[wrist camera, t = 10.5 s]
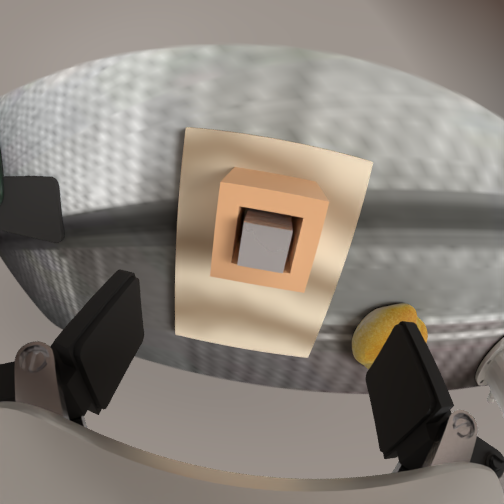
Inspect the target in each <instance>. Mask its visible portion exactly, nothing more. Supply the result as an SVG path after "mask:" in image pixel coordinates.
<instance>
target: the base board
mask: <svg viewBox="0 0 504 504" xmlns="http://www.w3.org/2000/svg"><path fill="white" fill-rule="evenodd" d="M372 165H373V162H371V161H368V160H365V159H361V158H358V157H354V156H351V155H347V154H343V153H339V152H335V151H331V150H327V149H323V148H318V147H314V146H310V145H305V144H300V143H295V142H290V141H285V140H280V139H275V138H269V137H263V136H257V135H250V134H244V133H237V132H229V131H221V130H213V129H203V128H193V127H186V131H185V139H184V148H183V157H182V167H181V178H180V190H179V203H178V218H177V237H176V266H175V334H176V335H180V336H184V337H189V338H193V339H198V340H202V341H207V342H212V343H217V344H222V345H227V346H233V347H238V348H244V349H250V350H256V351H262V352H268V353H275V354H282V355H290V356H297V357H306V358H308V356H309V354H310V352H311V349H312V347H313V344H314V342H315V340H316V337H317V335H318V332H319V330H320V328H321V325H322V323H323V320H324V317H325V315H326V312H327V310H328V307H329V304H330V302H331V299H332V296H333V294H334V291H335V288H336V286H337V283H338V280H339V277H340V274H341V271H342V268H343V265H344V263H345V260H346V256H347V253H348V250H349V247H350V244H351V241H352V238H353V235H354V231H355V228H356V225H357V221H358V218H359V214H360V211H361V207H362V204H363V200H364V197H365V193H366V189H367V185H368V181H369V177H370V173H371V169H372ZM234 167H239V168H245V169H252V170H258V171H264V172H269V173H275V174H280V175H286V176H291V177H296V178H301V179H306V180H311V181H315V182H317V184H318V185H319V187H320V188H321V190H322V191H323V193H324V194H325V196H326V197H327V199H328V200H329V205H328V209H327V213H326V217H325V221H324V225H323V229H322V232H321V236H320V240H319V244H318V247H317V251H316V254H315V258H314V261H313V265H312V268H311V272H310V275H309V279H308V282H307V285H306V289H305V292H304V293H302V292H296V291H290V290H284V289H278V288H272V287H266V286H260V285H254V284H249V283H243V282H238V281H232V280H227V279H221V278H216V277H211V276H210V271H211V261H212V251H213V241H214V231H215V222H216V214H217V205H218V197H219V189H220V182H221V181H222V180H223V179H224V178H225V176H226V175H227V174H228V173H229V172H230V171H231V170H232V169H233V168H234ZM247 211H248V208H247V207H245V212H244V219H243V224H244V220H245V217H246V214H247ZM291 219H292V216H291ZM242 230H243V225H242Z"/></svg>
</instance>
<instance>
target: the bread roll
mask: <svg viewBox="0 0 504 504" xmlns="http://www.w3.org/2000/svg"><path fill="white" fill-rule="evenodd" d="M401 321H406V322H414V323H416V325H417V327H418V329H419V330H420V332H421V334H422V336H423V338H424V340H425V342H427V337H428V335H427V329H426V326H425V324H424V323H423V322H422V321H421V320H420V319H419V318H418V317H417V313H416V310H415V309H414V308H413V307H412V306H411V305H409V304H406V303H400V304H395V305H390V306H386V307H381V308H377V309H375V310H373V311H372V312H370V313H369V314H368V315H367V316H366V317H365V318H364V319H363V320H362V321H361V322H360V323H359V325H358V326H357V328H356V330H355V332H354V334H353V338H352V351H353V355H354V357H355V359H356V360H357V361H358V362H360V363H361V364H362V365H364V366H365V367H366V368H368V369H369V368H370V367H371V365H372V364H373V362H374V360H375V359H376V357H377V356H378V354H379V352H380V351H381V349H382V347H383V345H384V344H385V342H386V340H387V338H388V337H389V335H390V333H391V331H392V329H393V328H394V326H395V325H397V324H399V323H400V322H401Z"/></svg>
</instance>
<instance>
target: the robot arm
mask: <svg viewBox="0 0 504 504" xmlns="http://www.w3.org/2000/svg"><path fill="white" fill-rule="evenodd" d="M143 338H144V329H143V320H142V310H141V299H140V285H139V279H138V278H136V277H135V274H134V273H132V272H128V271H124V270H118V271H116V273H115V274H114V275H113V276H112V277H111V278H110V279H109V280H108V281H107V282H106V283H105V284H104V285H103V286H102V287H101V288H100V289H99V290H98V291H97V293H96V294H95V295H94V296H93V297H92V298H91V299H90V300H89V301H88V302H87V303H86V305H85V306H84V307H83V308H82V309H81V310H80V311H79V312H78V314H77V315H76V316H75V317H74V318H73V319H72V320H71V322H70V323H69V324H68V325H67V326H66V327H65V329H64V330H63V331H62V332H61V333H60V335H59V336H58V337H57V338H56V339H55V341H54V342H53V344H52V345H51V346H49V345H47V344H46V343H43V342H39V341H38V342H30V343H27V344H26V345H24V346H22V347H21V348H20V349H19V351H18V352H17V354H16V357H15V361H14V362H10V363H5V364H0V504H504V457H503V456H502V454H501V453H500V452H499V451H498V450H497V449H495V448H494V447H492V446H491V445H489V444H488V443H486V442H485V441H483V440H482V439H480V438H479V437H477V433H478V427H477V423H476V420H475V418H474V417H473V416H472V415H471V414H470V413H469V412H467V411H465V410H460V409H459V410H455V411H454V412H453V413H451V411H450V409H451V408H452V407H453V406H454V404H453V402H452V399H451V397H450V394H449V392H448V390H447V387H446V385H445V383H444V380H443V378H442V376H441V374H440V371H439V369H438V367H437V365H436V363H435V361H434V358H433V356H432V354H431V352H430V350H429V348H428V346H427V344H426V342H425V340H424V338H423V336H422V334H421V332H420V330H419V329H418V327H417V325H416V323H414V322H406V321H401V322H400V323H399V324H397V325H395V326H394V328H393V329H392V331H391V333H390V335H389V337H388V338H387V340H386V342H385V344H384V345H383V347H382V349H381V351H380V352H379V354H378V356H377V357H376V359H375V360H374V362H373V364H372V365H371V367H370V368H369V370H368V372H367V374H366V383H367V388H368V392H369V396H370V401H371V405H372V411H373V415H374V420H375V426H376V431H377V436H378V442H379V448H380V451H381V452H383V454H384V459H389V458H396V457H398V458H399V462H398V464H397V465H396V467H395V469H394V470H393V472H392V473H390V474H383V475H375V476H366V477H356V478H340V479H339V478H338V479H292V478H276V477H264V476H254V475H247V474H240V473H233V472H227V471H221V470H216V469H211V468H206V467H201V466H197V465H192V464H188V463H184V462H180V461H176V460H172V459H169V458H166V457H162V456H159V455H156V454H152V453H149V452H146V451H143V450H141V449H137V448H134V447H132V446H129V445H127V444H124V443H121V442H119V441H116V440H114V439H111V438H108V437H106V436H104V435H101V434H99V433H97V432H94V431H92V430H90V429H88V428H87V426H86V422H85V418H84V415H85V414H86V412H87V410H89V411H91V412H93V413H95V414H98V415H99V413H100V411H101V409H106V407H107V406H108V404H109V402H110V401H111V398H112V397H113V395H114V393H115V391H116V389H117V387H118V385H119V383H120V382H121V380H122V378H123V376H124V374H125V372H126V370H127V369H128V367H129V365H130V363H131V361H132V359H133V358H134V356H135V354H136V352H137V351H138V349H139V347H140V345H141V344H142V341H143ZM475 378H476V381H477V383H478V385H480V386H487V385H489V387H490V394H489V396H488V398H487V402H488V403H493V402H494V401H495V400H496V401H497V403H498V405H499V407H500V409H501V412H502V414H503V416H504V337H503V338H502V339H501V340H500V341H499V342H498V343H497V344H496V345H495V346H494V347H493V348H492V349H491V350H490V351H489V353H488V354H487V355H486V356H485V358H484V359H483V361H482V362H481V364H480V366H479V367H478V370H477V372H476V376H475Z"/></svg>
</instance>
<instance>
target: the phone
mask: <svg viewBox="0 0 504 504" xmlns="http://www.w3.org/2000/svg"><path fill="white" fill-rule="evenodd" d="M3 182H4V198H3V201H2V203H1V205H0V230H2V231H6V232H10V233H14V234H19V235H23V236H27V237H31V238H36V239H40V240H45V241H49V242H54V243H59V242H61V241H62V240H63V238H64V229H63V221H62V212H61V202H60V190H59V184H58V182H57V180H56V179H55V178H53V177H43V176H5V177H3Z"/></svg>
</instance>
